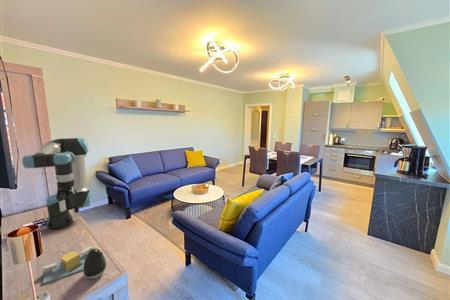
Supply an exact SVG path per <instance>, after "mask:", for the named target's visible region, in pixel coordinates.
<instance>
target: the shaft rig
mask: <svg viewBox="0 0 450 300" xmlns="http://www.w3.org/2000/svg"><path fill="white" fill-rule="evenodd" d="M92 249H94V248H93V246H88V247H87V248H85V249H83V250H82V251H80V264H78V265H77V266H75V267H74V268H72V269H71V270H69V271H67V270H65V269H63V268H61V266H60V263H61V261H58V262H54V263H50V264H47V265H44V266H43V280H42V286H44V285H46V284H49V283H52V282H55V281H58V280H61V279H63V278H66V277H70V276H72V275H75V274H77V273H81V272H83V267H84V262H85V258H86V256H87V254H88V252H89V251H90V250H92Z"/></svg>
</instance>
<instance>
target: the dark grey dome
mask: <svg viewBox="0 0 450 300" xmlns="http://www.w3.org/2000/svg"><path fill="white" fill-rule="evenodd" d="M106 268H107V262H106V257H105V256H104V253H103V252H102V251H101V250H100V249H98V248H93V249H92V250H90V251H89V252H88V254H87V256H86V258H85V262H84V267H83V271H82V273H83V275H84V276H85V278H87V279H90V280H94V279H98V278H99V277H101V275H103V273H104V272H105V270H106Z"/></svg>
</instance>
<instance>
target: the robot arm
mask: <svg viewBox="0 0 450 300" xmlns="http://www.w3.org/2000/svg"><path fill="white" fill-rule="evenodd" d="M88 153H89V147H88V143H87V140H86V139H85V138H83V137H75V138H74V137H71V138H70V137H68V138H56V139H52V140H50V141H48V142H46V143H44V145H42V147H41V149H40V150H38V151H37V152H36V153H34V154H26V155H24V156H23V157H22V160H21V161H22V166H23V168H25V169H42V168H52V167H53V168H54V172H55V176H54V178H55V180H56V181H57V182H56V187H57V192H56V193H54V194H52V195H50V196H49V197H47V199H46V208H47V214H48V218H47V223H46V228H47V230H60V229H63V228H65V227H68V226H69V225H71V224H72V223H73V222H74V219H77V218H78V217H80V216H81V215H80V209H84V208H87V207H90V206H91V203H92V196H93V194H92V191H91V190H90V189H89V187H88V186H87V175H86V164H85V157H86V156H87V154H88ZM70 210H72V213H73V216H72V214H71V212H70Z"/></svg>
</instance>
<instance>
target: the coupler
mask: <svg viewBox="0 0 450 300" xmlns="http://www.w3.org/2000/svg"><path fill="white" fill-rule="evenodd" d="M80 255H81V253H80V254H79V253H77V252H76V251H74V250H72V251H70V252H68V253H67V254H64V255H63V256H62V257H61V256H60V262H61V263H60V266H61V268H63V269H65V270H67V271H69V270H71V269H72V268H74V267H75V266H77V265H78V264H80Z"/></svg>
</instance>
